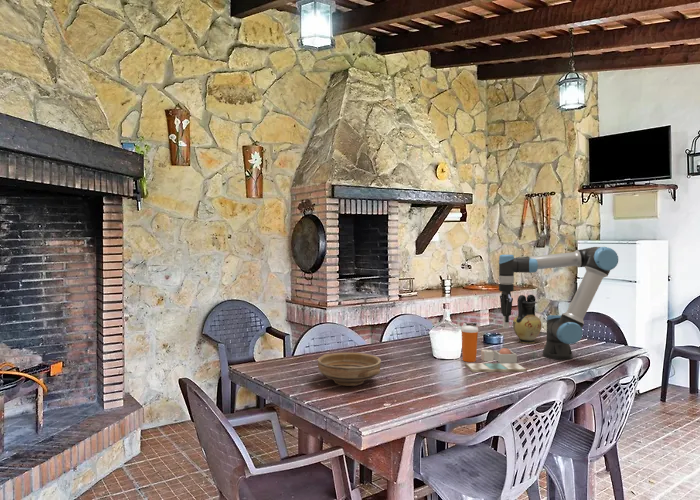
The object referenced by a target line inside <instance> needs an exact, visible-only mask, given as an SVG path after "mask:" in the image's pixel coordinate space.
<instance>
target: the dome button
mask: <svg viewBox="0 0 700 500" xmlns="http://www.w3.org/2000/svg"><path fill="white" fill-rule="evenodd" d="M498 351H499V353H500V354H511V351H512V350H510V349H509V348H508V347H507V348H506V347H503V348H500V350H498Z"/></svg>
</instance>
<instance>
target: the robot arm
mask: <svg viewBox="0 0 700 500" xmlns="http://www.w3.org/2000/svg"><path fill="white" fill-rule="evenodd" d="M498 259H499V260H498V277H497V279H498V283H499V284H498V292H501V295H499V300H500V301H499V302H500V312H501V314H502V329H510V316H511V315H512V311H513V310H512V306H513V302H514V301H513V300H514V297H512V294H511V292H514V290H515V288H514V283H515V273H526V274H527V273H530V274H531V273H533V274H534V273H537V271H538V270H543V269H544V270H546V269H555V268H556V269H557V268H568V267H577V268H584V269H585V273H584V275H583V276H582V280H581V282H580V283H579V285H578V287H577V289H576V291H575V294H574V295H573V298H572V300H571V302H570V304H569V306H568V308H567V310H566V312H562V314H559V315H558V314H557V315H556V314H555V315H554V314H552V315H551V314H549V315H547V317H546V341H545V344H544V348H543V351H542V356H543V357H544V358H548V359H554V360H562V361H563V360H564V361H565V360H572V359H573V351H572V349H571V346H570V345H574V344H576V343H578V342H580V340H581V339H582V338H583V333H584V332H583V328H584V325H585V322H584V318H585V316H586V314H587V312H588V310H589V308H590V306H591V304H592V301H593V299H594V298H595V295H596V293H597V292H598V290H599V287H600V285H601V283H602V281H603V279H604V278H606V277H608V276H609V274H610V272H611V271H612V270H614V269H615V268H616V267H617V266H618V264H619V256H618V253H617V252H616V250H614V249H613V248H611V247H607V246H593V247H587V248H583V249H576V250H574V251H573V252H561V253H550V254H542V255H531V256H522V257H521V256H518V257H517V256H516V257H515V256H514V254H500V255H499V257H498Z"/></svg>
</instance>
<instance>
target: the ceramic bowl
mask: <svg viewBox="0 0 700 500" xmlns="http://www.w3.org/2000/svg"><path fill="white" fill-rule="evenodd" d="M316 360H317V366H318V370H319V372H320V373H321V375H323V376H324V377H326V378H327V379H329V380H333V382H334V383H335V384H337V385H339V386H345V387H347V386H349V387H350V386H351V387H352V386H353V387H355V386H359V385H362V384H364V381H368V380H370V379H372V378H374V377H375V376H377V375H379V374H380V373H381V370H380V368H381V366H382V365H381V362H382V359H381V358H380V357H379V356H376V355H373V354H369V353H364V352H334V353H324V354H322V355H321V356H319V357H318V358H317V359H316Z"/></svg>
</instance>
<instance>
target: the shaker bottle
mask: <svg viewBox="0 0 700 500" xmlns="http://www.w3.org/2000/svg"><path fill="white" fill-rule="evenodd" d="M477 325H478V323H476V322H467V321H465V322H463V324H462V326H461V328H460V331H461V352H462V353H461V354H462V361H463V362H465V363H475V362H477V353H478V352H477V351H478V337H479V335H478V333H479V327H478V326H477Z"/></svg>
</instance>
